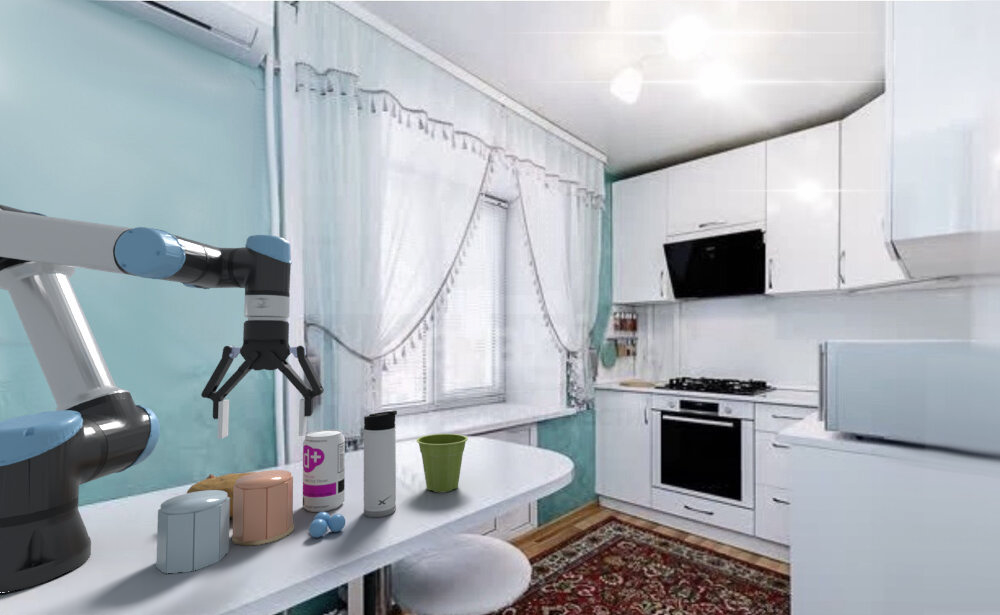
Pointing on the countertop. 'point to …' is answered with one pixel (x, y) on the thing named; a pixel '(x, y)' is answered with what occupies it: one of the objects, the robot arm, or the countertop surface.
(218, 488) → the potato
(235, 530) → the peach domed octagonal part
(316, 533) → the marble
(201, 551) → the grey domed faceted canister
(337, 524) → the marble
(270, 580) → the countertop surface
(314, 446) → the supplement can
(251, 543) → the coaster
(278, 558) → the countertop surface
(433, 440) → the plant pot
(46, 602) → the countertop surface
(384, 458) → the travel mug
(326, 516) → the marble
